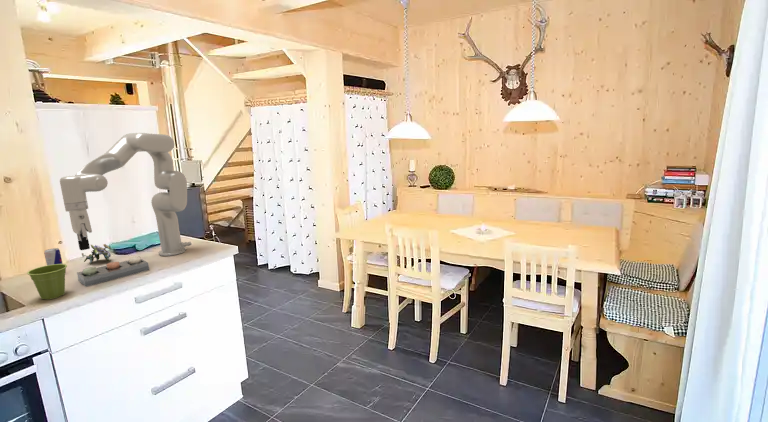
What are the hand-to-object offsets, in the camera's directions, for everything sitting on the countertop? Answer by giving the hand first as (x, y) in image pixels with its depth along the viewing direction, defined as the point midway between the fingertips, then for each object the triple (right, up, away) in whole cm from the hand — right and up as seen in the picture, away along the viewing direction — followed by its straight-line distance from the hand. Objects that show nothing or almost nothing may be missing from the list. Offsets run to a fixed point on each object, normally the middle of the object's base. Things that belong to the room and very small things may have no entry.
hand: (84, 249), depth 166 cm
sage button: (+1, -11, +2) cm, 11 cm away
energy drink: (-22, -13, +12) cm, 28 cm away
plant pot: (-3, -17, -12) cm, 21 cm away
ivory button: (+12, -7, +15) cm, 20 cm away
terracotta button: (+6, -9, +9) cm, 14 cm away
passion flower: (-14, -10, +28) cm, 33 cm away
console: (+6, -12, +9) cm, 17 cm away
